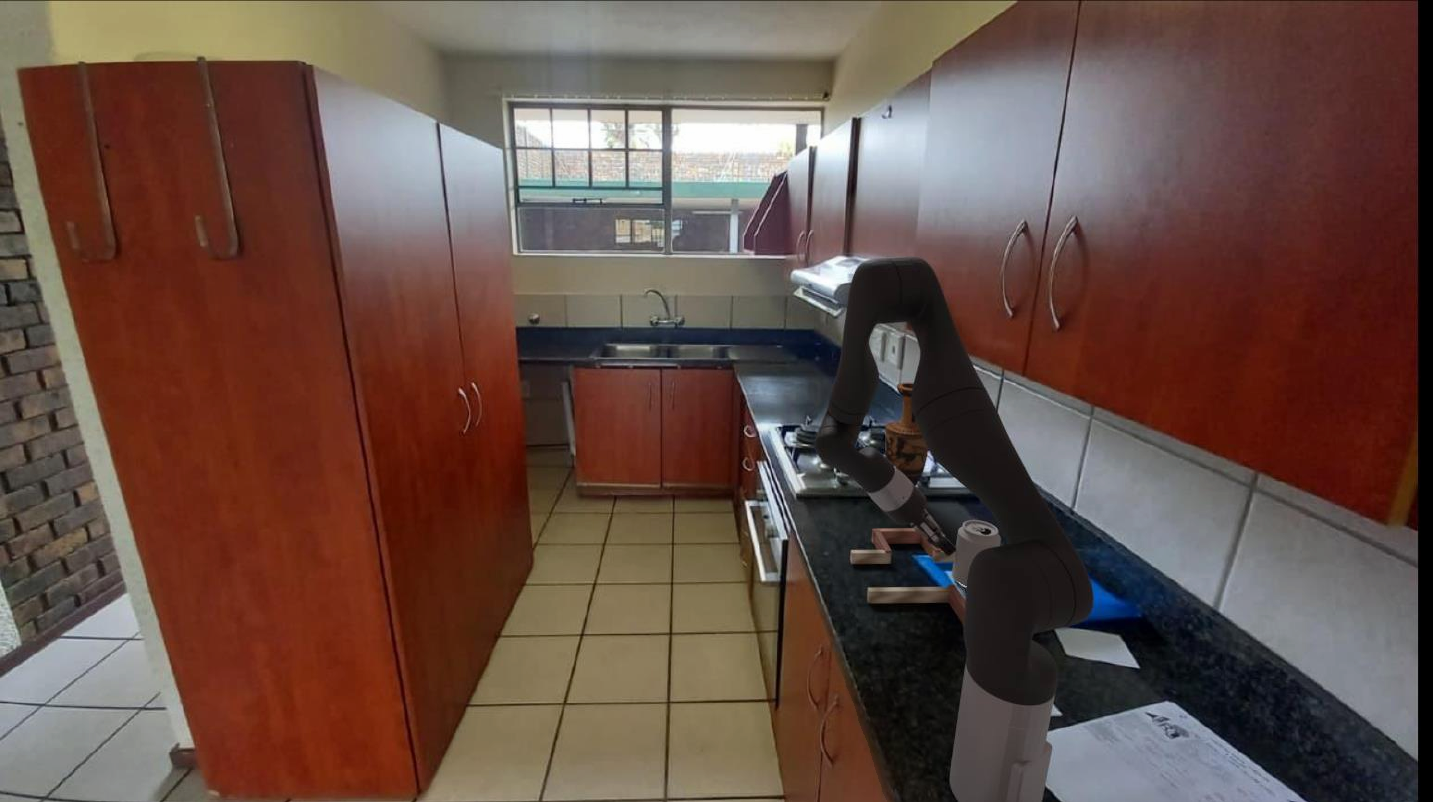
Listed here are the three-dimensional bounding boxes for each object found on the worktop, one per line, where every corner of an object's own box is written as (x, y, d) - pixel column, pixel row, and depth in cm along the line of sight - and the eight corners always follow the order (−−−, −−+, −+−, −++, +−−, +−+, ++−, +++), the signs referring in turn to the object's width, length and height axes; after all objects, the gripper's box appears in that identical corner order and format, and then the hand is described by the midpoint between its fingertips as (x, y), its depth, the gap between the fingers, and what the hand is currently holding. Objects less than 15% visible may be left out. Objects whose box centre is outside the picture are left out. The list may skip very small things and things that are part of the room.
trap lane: (881, 632, 100) (882, 617, 99) (841, 541, 129) (842, 528, 128) (1070, 630, 100) (1073, 615, 100) (988, 539, 130) (990, 527, 129)
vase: (883, 509, 144) (894, 391, 135) (875, 490, 154) (884, 380, 146) (929, 511, 143) (942, 392, 134) (917, 492, 153) (929, 380, 145)
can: (987, 598, 109) (996, 541, 105) (946, 583, 113) (954, 528, 110) (997, 580, 115) (1006, 525, 111) (958, 567, 119) (965, 513, 116)
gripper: (923, 496, 103) (982, 557, 107) (898, 466, 115) (952, 522, 119) (890, 524, 104) (950, 583, 108) (869, 491, 117) (923, 545, 121)
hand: (951, 551), depth 114 cm, fingers closed
